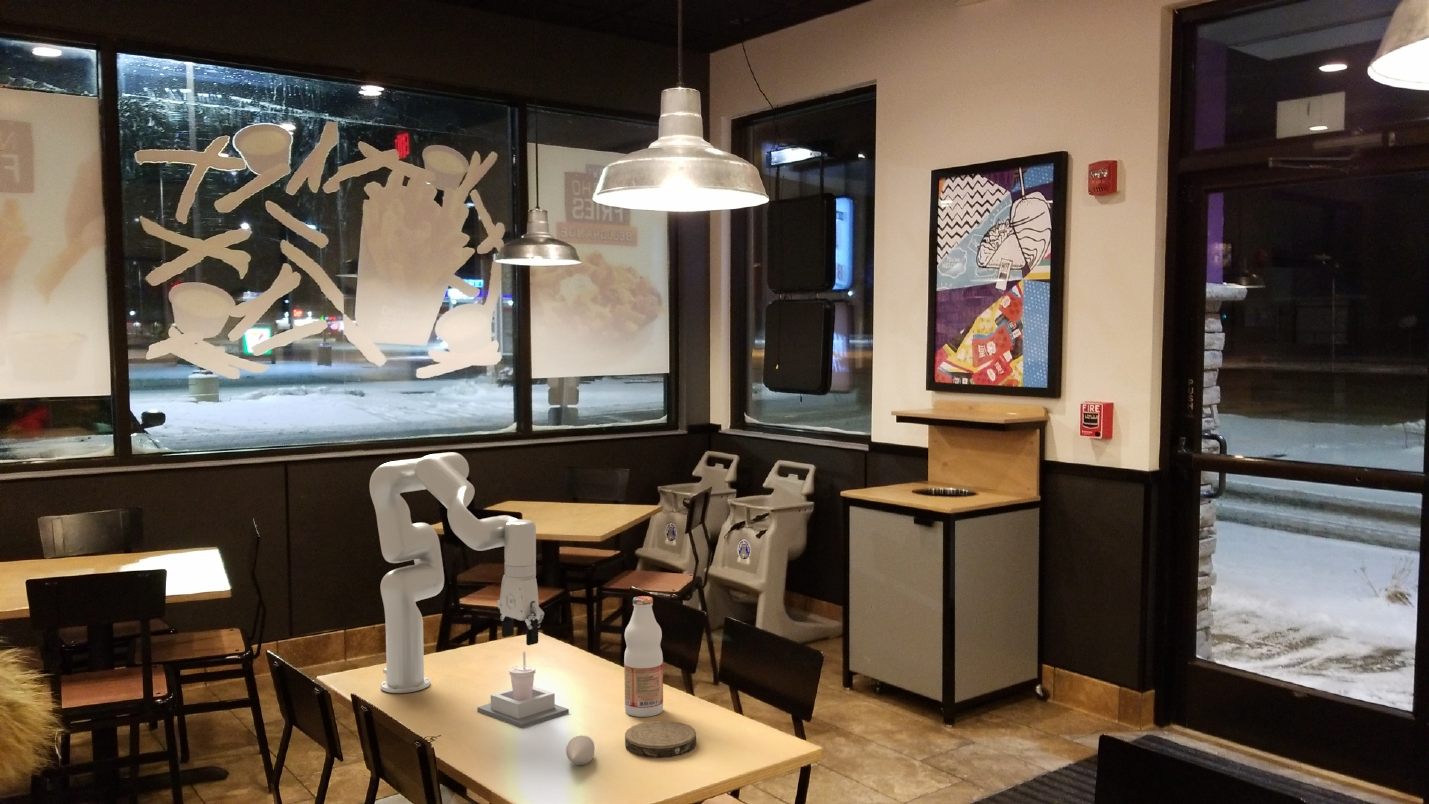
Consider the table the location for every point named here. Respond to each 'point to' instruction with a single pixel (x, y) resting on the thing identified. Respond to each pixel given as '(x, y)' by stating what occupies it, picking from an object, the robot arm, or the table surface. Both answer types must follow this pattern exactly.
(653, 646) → the fruit juice
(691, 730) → the brown flat round piece
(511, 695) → the cup holder
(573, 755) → the beige pointed round piece
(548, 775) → the table surface
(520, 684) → the smoothie
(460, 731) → the table surface
